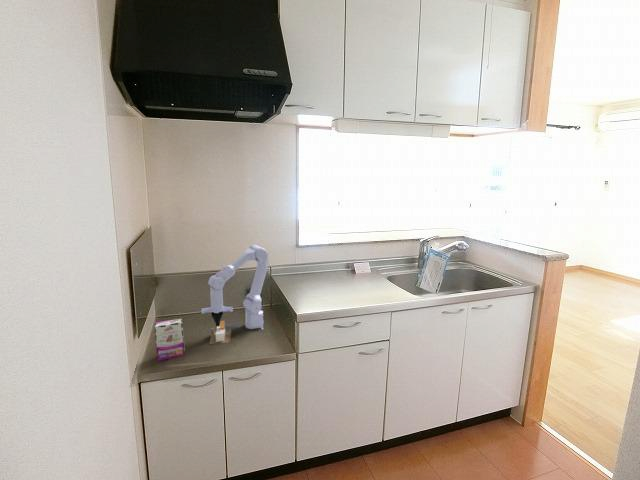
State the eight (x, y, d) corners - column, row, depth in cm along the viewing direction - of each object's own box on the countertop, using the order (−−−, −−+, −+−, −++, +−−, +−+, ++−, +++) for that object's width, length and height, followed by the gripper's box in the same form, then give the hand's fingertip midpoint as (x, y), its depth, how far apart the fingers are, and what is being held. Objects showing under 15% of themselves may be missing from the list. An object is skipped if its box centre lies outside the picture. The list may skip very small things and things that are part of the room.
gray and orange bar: (240, 325, 169) (240, 319, 168) (240, 327, 167) (239, 321, 166) (220, 326, 167) (220, 321, 166) (220, 328, 165) (220, 322, 164)
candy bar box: (184, 350, 154) (182, 317, 150) (185, 356, 149) (182, 322, 146) (157, 355, 149) (154, 321, 146) (157, 361, 145) (154, 326, 141)
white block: (225, 333, 169) (225, 325, 168) (224, 341, 161) (224, 333, 160) (217, 333, 168) (217, 326, 167) (215, 341, 160) (215, 334, 160)
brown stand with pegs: (231, 332, 171) (231, 324, 170) (230, 343, 161) (230, 334, 160) (211, 334, 169) (211, 325, 168) (209, 345, 159) (209, 336, 158)
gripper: (200, 304, 157) (201, 330, 160) (231, 302, 160) (232, 328, 163) (201, 298, 164) (203, 323, 167) (232, 296, 167) (233, 321, 170)
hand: (217, 325), depth 165 cm, fingers closed
